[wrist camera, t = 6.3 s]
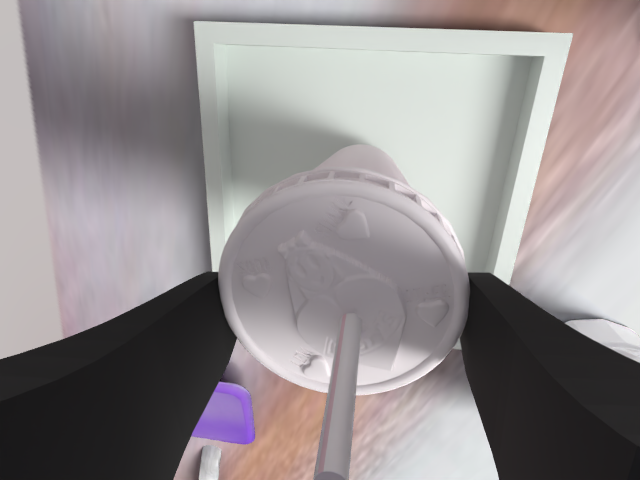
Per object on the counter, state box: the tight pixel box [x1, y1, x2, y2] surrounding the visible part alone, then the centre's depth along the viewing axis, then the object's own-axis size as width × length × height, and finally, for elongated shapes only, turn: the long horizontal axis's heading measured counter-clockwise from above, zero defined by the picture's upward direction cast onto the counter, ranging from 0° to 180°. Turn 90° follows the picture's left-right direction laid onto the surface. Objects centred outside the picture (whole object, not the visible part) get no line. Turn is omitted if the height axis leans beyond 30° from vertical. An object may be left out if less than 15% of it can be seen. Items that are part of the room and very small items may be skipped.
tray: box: [194, 21, 573, 350], centre depth 20 cm, size 15×15×2 cm
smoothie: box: [218, 144, 470, 480], centre depth 13 cm, size 6×6×14 cm
